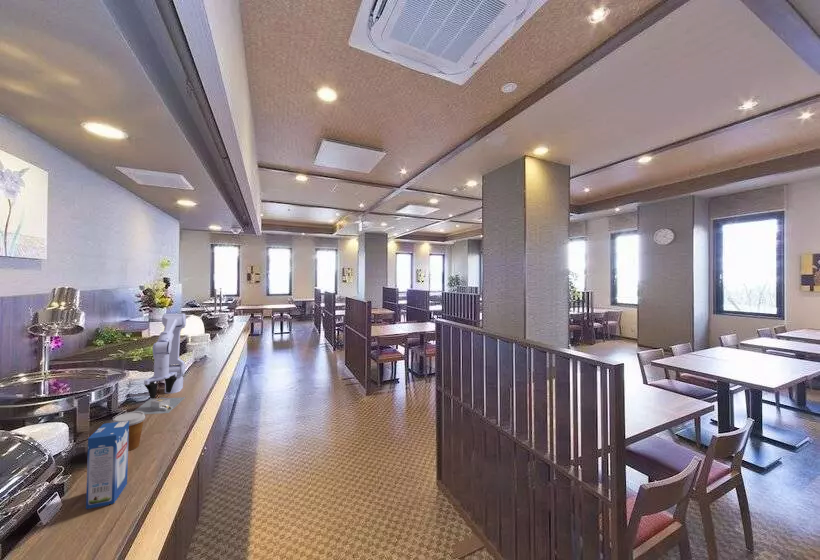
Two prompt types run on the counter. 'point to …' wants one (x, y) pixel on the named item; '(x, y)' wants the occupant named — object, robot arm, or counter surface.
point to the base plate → (147, 410)
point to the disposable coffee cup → (132, 427)
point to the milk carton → (107, 464)
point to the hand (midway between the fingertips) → (160, 395)
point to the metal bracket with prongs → (161, 404)
